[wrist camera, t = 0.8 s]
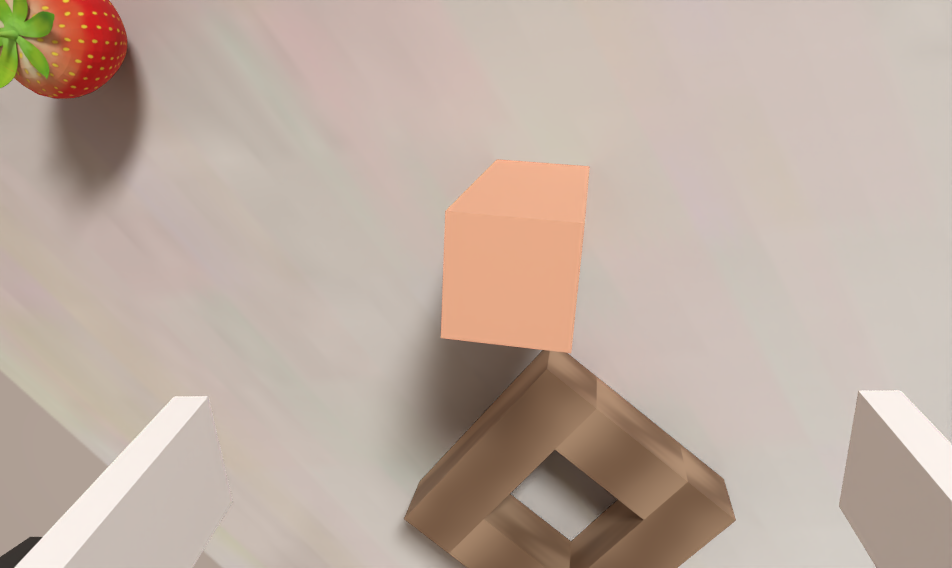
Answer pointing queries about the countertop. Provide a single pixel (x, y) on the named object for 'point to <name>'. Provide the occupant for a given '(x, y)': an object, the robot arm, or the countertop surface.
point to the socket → (595, 453)
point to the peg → (515, 256)
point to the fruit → (60, 45)
